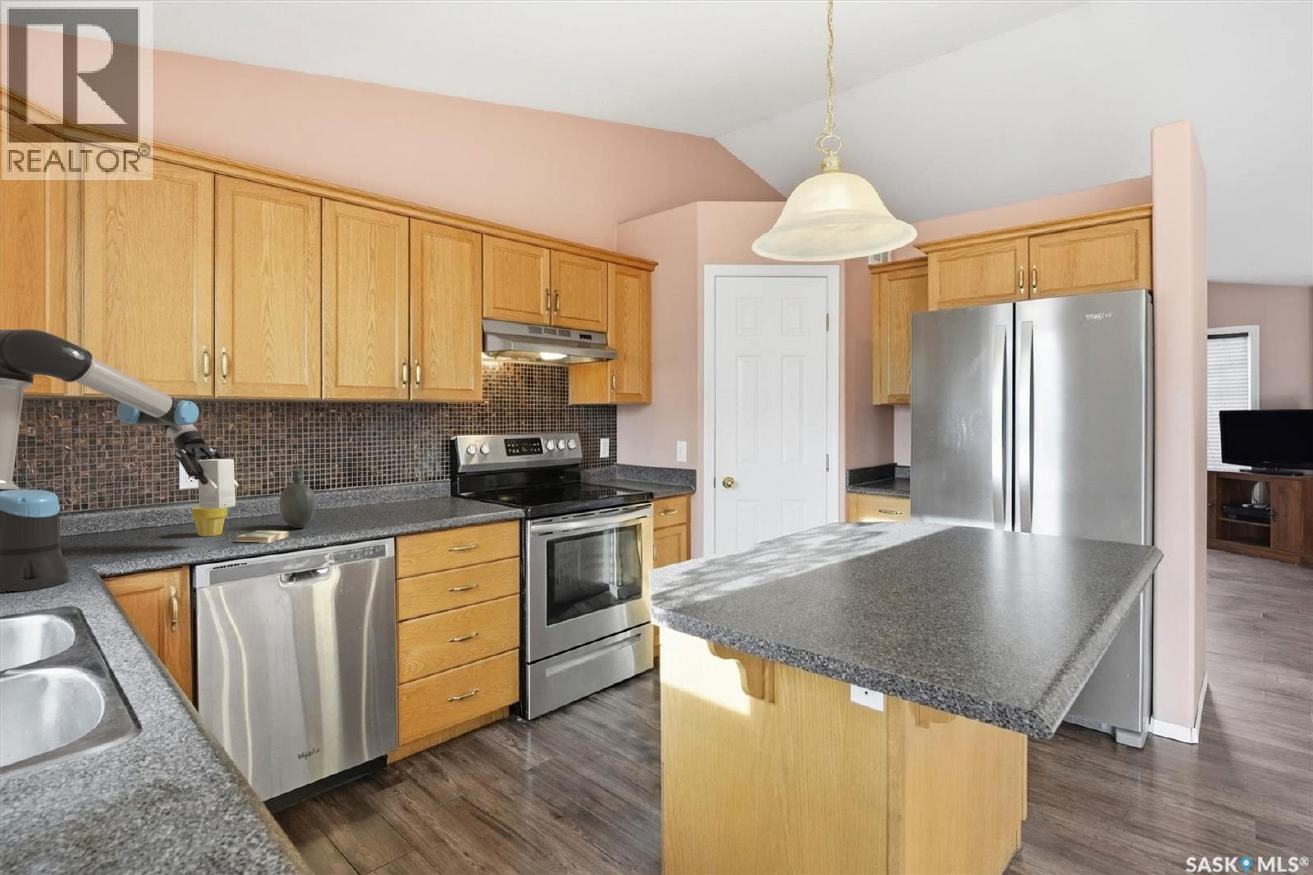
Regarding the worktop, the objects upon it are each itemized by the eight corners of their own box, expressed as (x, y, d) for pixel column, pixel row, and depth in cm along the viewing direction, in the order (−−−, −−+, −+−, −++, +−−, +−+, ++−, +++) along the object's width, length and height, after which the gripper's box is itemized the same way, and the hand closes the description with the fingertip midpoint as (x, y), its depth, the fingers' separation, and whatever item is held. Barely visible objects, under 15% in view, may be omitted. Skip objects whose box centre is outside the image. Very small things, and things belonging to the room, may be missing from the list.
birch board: (267, 543, 215) (267, 536, 215) (235, 542, 216) (235, 536, 216) (288, 536, 226) (288, 530, 226) (258, 536, 227) (258, 530, 227)
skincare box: (236, 506, 213) (236, 459, 212) (217, 509, 206) (217, 460, 206) (215, 505, 215) (215, 458, 214) (196, 508, 208) (196, 459, 208)
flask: (282, 532, 234) (281, 471, 233) (278, 525, 248) (277, 467, 247) (318, 529, 240) (317, 469, 239) (313, 522, 254) (312, 466, 254)
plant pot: (218, 531, 237) (217, 504, 236) (233, 533, 231) (233, 506, 231) (186, 535, 228) (185, 507, 227) (201, 538, 222) (200, 510, 222)
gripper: (208, 444, 224) (246, 493, 220) (149, 446, 205) (189, 501, 201) (220, 428, 222) (258, 478, 218) (161, 430, 203) (201, 484, 199)
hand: (225, 489), depth 209 cm, fingers closed on skincare box, 7 cm apart
